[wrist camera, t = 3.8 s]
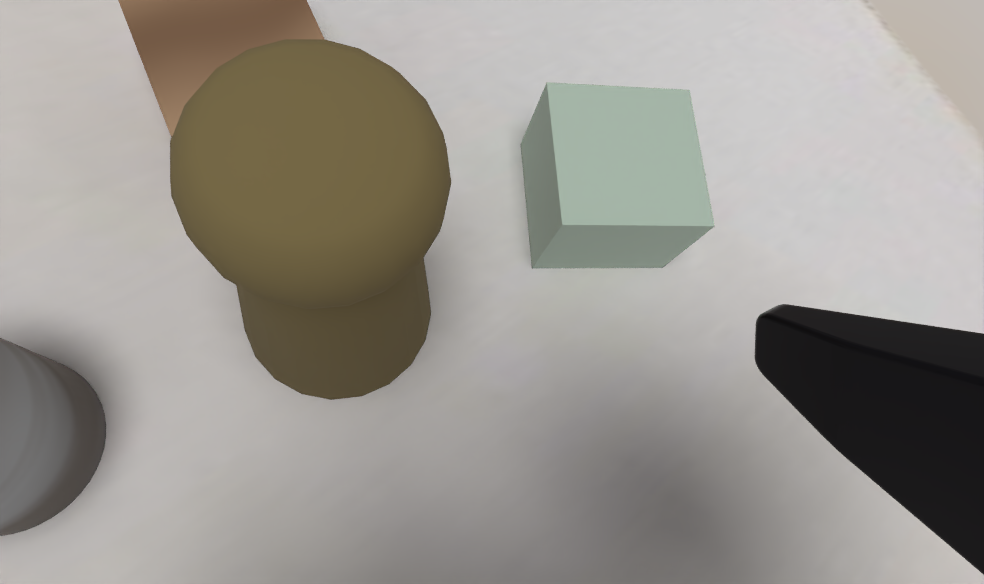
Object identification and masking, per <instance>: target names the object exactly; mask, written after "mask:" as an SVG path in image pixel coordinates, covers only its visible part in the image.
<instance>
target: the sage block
mask: <svg viewBox="0 0 984 584" xmlns="http://www.w3.org/2000/svg"><path fill="white" fill-rule="evenodd" d="M521 153H522V164H523V175H524V186H525V197H526V208H527V219H528V230H529V241H530V252H531V263H532V268H663V267H664V266H665V265H666V264H668V263H669V262H670V261H671V260H673V259H674V258H675V257H676V256H678V255H679V254H680V253H681V252H683V251H684V250H685V249H687V248H688V247H689V246H690V245H692V244H693V243H694V242H695V241H697V240H698V239H699V238H700V237H702V236H703V235H704V234H705V233H707V232H708V231H709V230H710V229H712V228H713V227H714V220H713V215H712V209H711V204H710V199H709V193H708V188H707V182H706V177H705V172H704V166H703V161H702V155H701V150H700V144H699V139H698V134H697V128H696V123H695V117H694V112H693V107H692V101H691V96H690V90H681V89H662V88H643V87H624V86H604V85H585V84H566V83H546V86H545V88H544V90H543V93H542V95H541V97H540V100H539V102H538V105H537V107H536V109H535V112H534V114H533V116H532V119H531V121H530V124H529V126H528V128H527V131H526V133H525V135H524V138H523V140H522V143H521Z"/></svg>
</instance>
